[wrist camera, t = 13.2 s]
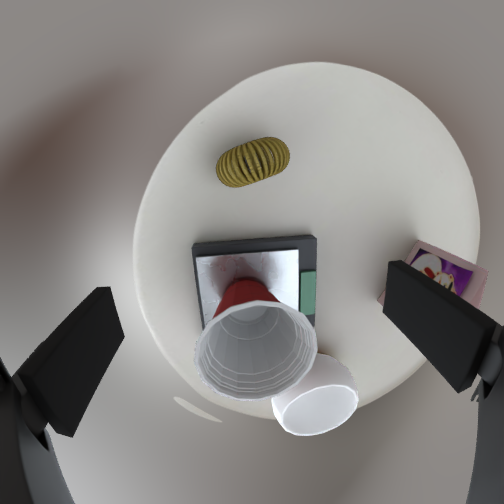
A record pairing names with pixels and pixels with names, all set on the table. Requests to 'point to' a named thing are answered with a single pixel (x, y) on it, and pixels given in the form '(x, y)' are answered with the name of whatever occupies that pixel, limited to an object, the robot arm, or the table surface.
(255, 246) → the scale
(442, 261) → the greeting card
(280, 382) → the plastic cup
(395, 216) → the table surface
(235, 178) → the sculpture
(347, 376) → the cup
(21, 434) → the robot arm
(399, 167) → the table surface
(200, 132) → the table surface
